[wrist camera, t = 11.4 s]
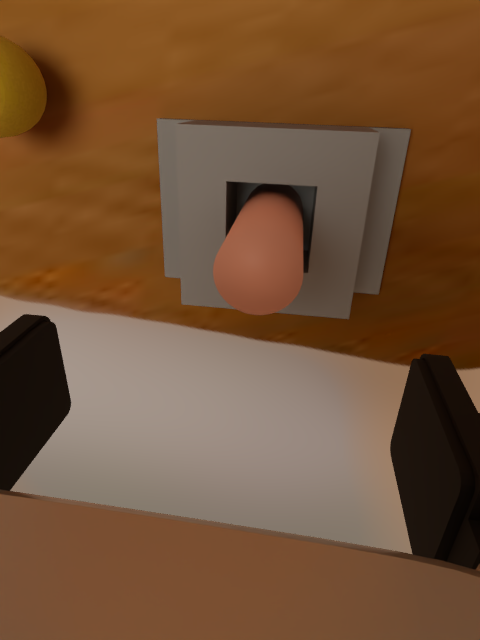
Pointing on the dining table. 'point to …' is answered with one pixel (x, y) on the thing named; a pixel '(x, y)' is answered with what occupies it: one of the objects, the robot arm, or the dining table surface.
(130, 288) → the dining table surface
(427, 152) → the dining table surface
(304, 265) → the socket
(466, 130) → the dining table surface
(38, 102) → the lemon
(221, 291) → the peg
